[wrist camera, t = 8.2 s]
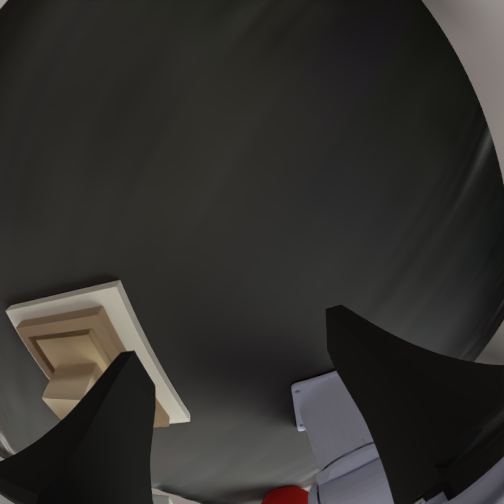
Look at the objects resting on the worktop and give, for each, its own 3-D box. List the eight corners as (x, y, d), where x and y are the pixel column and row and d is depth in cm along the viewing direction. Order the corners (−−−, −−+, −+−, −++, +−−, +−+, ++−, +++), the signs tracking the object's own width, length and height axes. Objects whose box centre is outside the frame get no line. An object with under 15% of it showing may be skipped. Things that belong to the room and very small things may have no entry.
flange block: (41, 332, 17) (16, 371, 12) (92, 325, 18) (69, 372, 13) (94, 407, 21) (83, 446, 16) (143, 406, 21) (137, 450, 17)
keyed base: (190, 414, 24) (190, 430, 22) (89, 418, 23) (85, 431, 21) (120, 279, 18) (111, 295, 16) (10, 305, 17) (-1, 318, 15)
